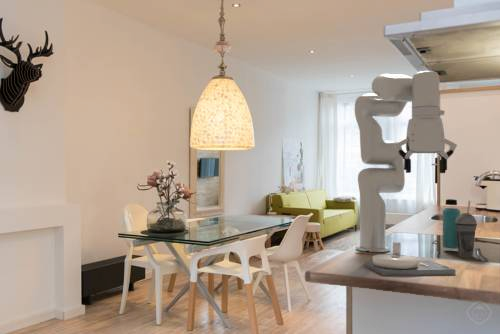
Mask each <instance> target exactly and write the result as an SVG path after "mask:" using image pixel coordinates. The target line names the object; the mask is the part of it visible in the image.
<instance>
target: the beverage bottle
mask: <svg viewBox="0 0 500 334" xmlns="http://www.w3.org/2000/svg"><path fill="white" fill-rule="evenodd" d="M444 205H445V206H446V205H449V206H458V200H457V199H453V198H452V199H451V198H449V199H445V204H444ZM460 214H461V211H460V209H458V207H457V208H456V207H444V209H443V210H442V225H441V226H442V239H441V240H442V247H443V248H446V249H452V250H455V249H457V250H458V242H457V230H456V227H455V221H456V218H457V217H458V216H459V215H460Z"/></svg>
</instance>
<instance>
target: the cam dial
mask: <svg viewBox="0 0 500 334" xmlns="http://www.w3.org/2000/svg"><path fill="white" fill-rule="evenodd" d="M401 244H402V243H401V242H399V241H392V253H391V254H388V253H382V254H381V253H378V254H374V255H373V256H372V261H373V264H374V265H376V266H380V267H386V268H395V269H410V268H416V267H418V260H419V259H418V258H417V257H414V256H411V255H405V254H404V255H403V254H401V251H402V250H401V249H402V247H401V246H402V245H401Z"/></svg>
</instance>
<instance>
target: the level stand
mask: <svg viewBox="0 0 500 334" xmlns="http://www.w3.org/2000/svg"><path fill="white" fill-rule="evenodd" d="M363 266H364V267H365V268H368V269H369V270H371V271H373V272H375V273H376V274H379V275H381V276H382V277H385V276H386V277H387V276H388V277H391V276H395V277H396V276H399V277H400V276H456V269H455V268H452V267H449V266H446V265H443V264H441V263H438V262H435V261H432V260H429V259H425V260H424V259H421V260H420V259H418V267H416V268H410V269H395V268H386V267H380V266H376V265H374V264H373V260H363Z"/></svg>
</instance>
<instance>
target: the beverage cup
mask: <svg viewBox="0 0 500 334" xmlns="http://www.w3.org/2000/svg"><path fill="white" fill-rule="evenodd" d="M467 204H468V205H467V211H466V212H462V213H460V215H459V216H458V217H457V218H456V221H455V227H456V230H457V242H458V249H457V251H458V257H461V258H474V249H475V248H474V247H475V240H476V239H475V238H476V230H477V226H478V223H477V220H476V218H475V216H474V215H473V214H471V213H470V207H471V206H470V205H471V200H468V203H467Z"/></svg>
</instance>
